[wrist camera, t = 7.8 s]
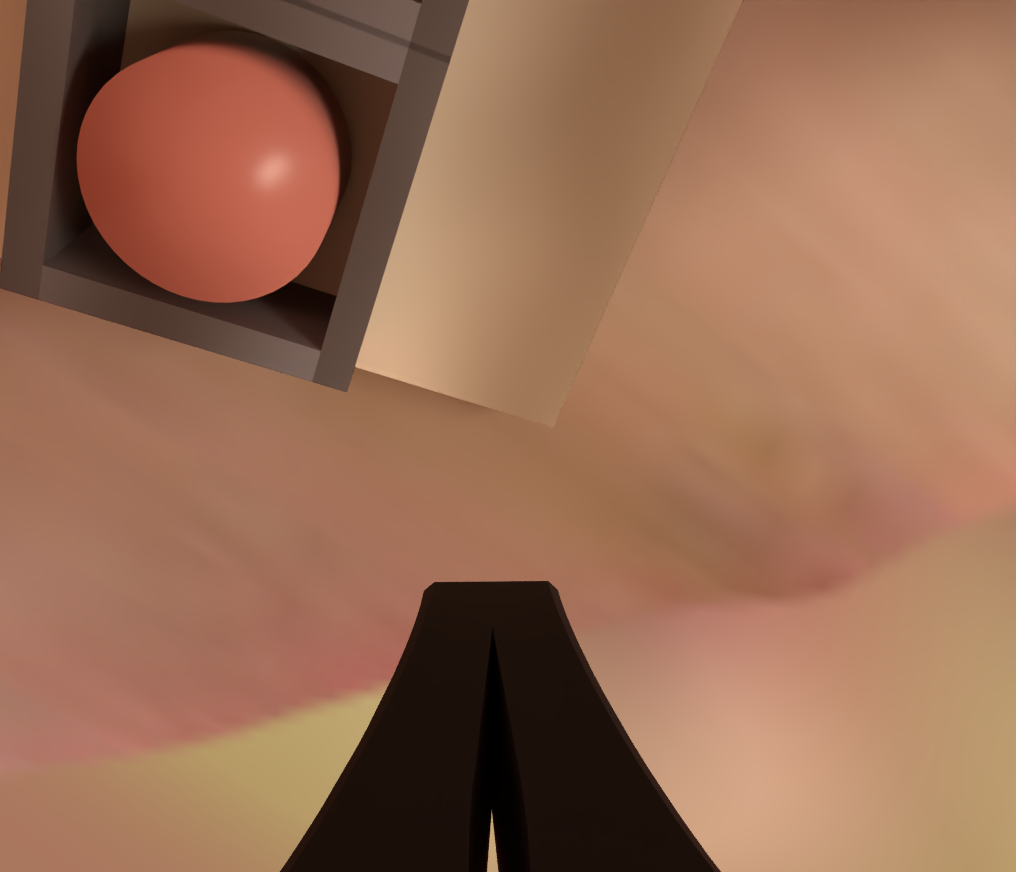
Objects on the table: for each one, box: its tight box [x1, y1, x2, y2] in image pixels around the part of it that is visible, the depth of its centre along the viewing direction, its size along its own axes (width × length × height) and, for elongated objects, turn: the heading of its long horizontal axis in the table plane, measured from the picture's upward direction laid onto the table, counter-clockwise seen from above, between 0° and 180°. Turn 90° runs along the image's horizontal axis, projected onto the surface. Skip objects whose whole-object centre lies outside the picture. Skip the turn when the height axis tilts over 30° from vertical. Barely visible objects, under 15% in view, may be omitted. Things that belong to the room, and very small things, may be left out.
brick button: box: [77, 31, 352, 303], centre depth 14 cm, size 4×4×2 cm
